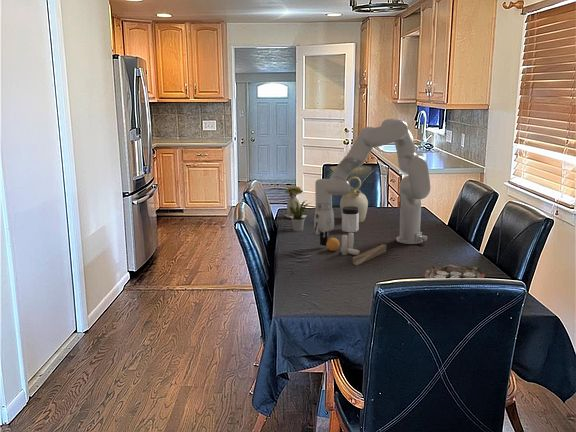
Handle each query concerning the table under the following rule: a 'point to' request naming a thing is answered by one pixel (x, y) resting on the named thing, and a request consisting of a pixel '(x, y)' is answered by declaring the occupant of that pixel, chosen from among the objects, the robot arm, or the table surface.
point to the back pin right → (351, 240)
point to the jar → (350, 219)
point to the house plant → (297, 216)
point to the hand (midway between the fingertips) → (323, 244)
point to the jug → (355, 200)
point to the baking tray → (455, 272)
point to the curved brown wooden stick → (369, 254)
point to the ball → (333, 244)
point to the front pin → (352, 251)
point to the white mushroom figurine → (293, 200)
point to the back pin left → (344, 244)
